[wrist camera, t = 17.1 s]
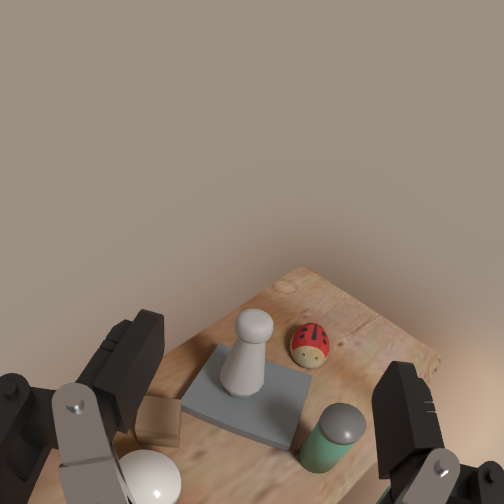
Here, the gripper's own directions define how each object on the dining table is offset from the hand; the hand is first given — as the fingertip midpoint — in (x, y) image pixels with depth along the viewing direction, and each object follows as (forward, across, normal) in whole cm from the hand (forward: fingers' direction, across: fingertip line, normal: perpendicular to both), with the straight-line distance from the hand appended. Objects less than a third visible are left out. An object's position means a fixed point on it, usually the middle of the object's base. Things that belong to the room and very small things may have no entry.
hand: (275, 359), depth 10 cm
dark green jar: (+12, -11, +29) cm, 33 cm away
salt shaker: (+20, +1, +28) cm, 34 cm away
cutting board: (+20, -1, +29) cm, 35 cm away
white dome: (+3, +8, +29) cm, 31 cm away
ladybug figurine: (+32, -9, +30) cm, 44 cm away
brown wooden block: (+11, +9, +29) cm, 33 cm away
